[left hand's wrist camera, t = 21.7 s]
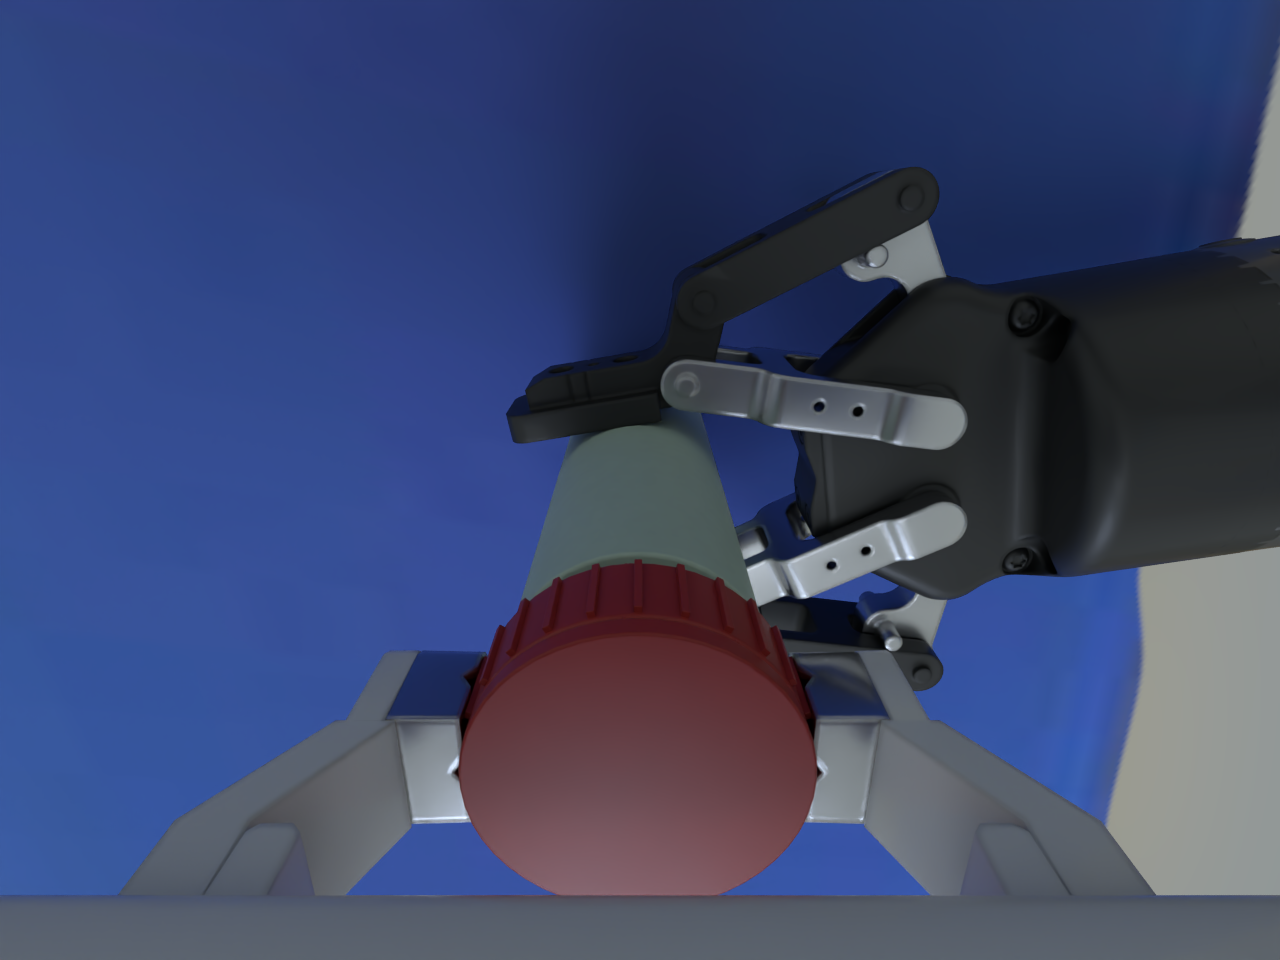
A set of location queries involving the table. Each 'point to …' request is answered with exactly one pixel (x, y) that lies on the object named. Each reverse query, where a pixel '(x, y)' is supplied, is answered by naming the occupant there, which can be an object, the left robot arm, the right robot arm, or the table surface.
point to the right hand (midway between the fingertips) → (538, 507)
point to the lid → (637, 737)
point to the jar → (640, 506)
